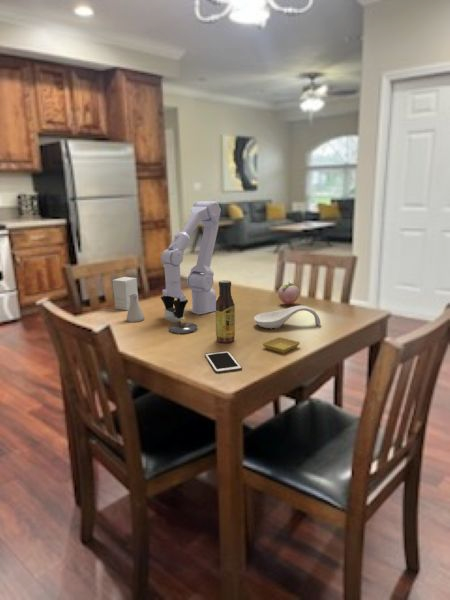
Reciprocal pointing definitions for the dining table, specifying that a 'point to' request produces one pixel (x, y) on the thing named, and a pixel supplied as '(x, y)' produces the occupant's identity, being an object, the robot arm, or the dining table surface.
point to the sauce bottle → (225, 313)
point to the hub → (183, 327)
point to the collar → (172, 315)
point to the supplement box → (124, 291)
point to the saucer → (284, 345)
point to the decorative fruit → (288, 293)
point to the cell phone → (223, 362)
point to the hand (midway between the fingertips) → (174, 315)
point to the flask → (134, 310)
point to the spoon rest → (282, 317)
